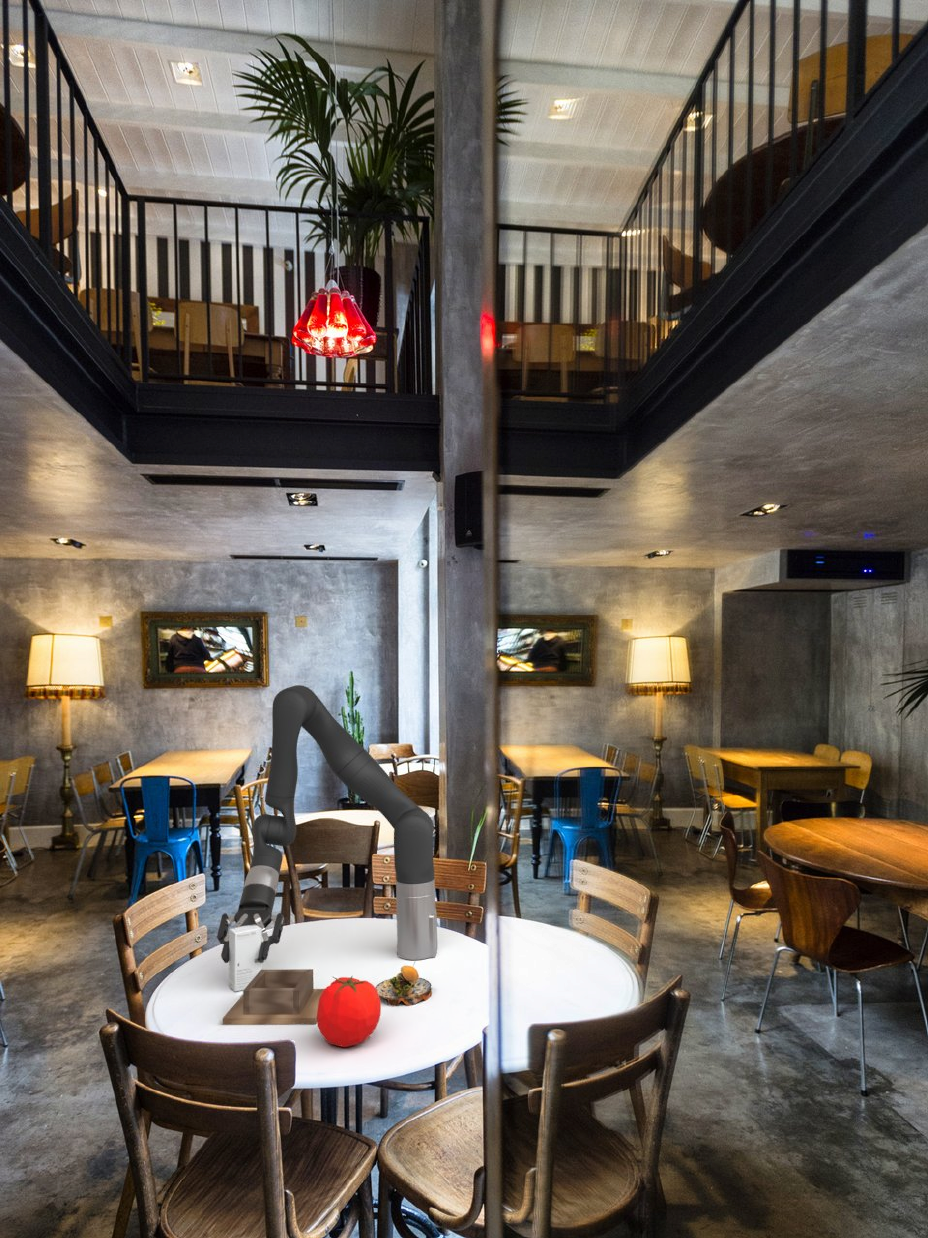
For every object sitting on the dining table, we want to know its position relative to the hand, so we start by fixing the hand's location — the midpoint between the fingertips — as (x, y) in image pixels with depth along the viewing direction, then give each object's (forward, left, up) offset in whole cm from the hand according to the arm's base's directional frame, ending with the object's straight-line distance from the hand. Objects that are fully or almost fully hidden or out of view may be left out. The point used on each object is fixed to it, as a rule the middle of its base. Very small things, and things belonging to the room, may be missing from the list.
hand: (243, 961), depth 167 cm
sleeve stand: (-11, +10, -6) cm, 16 cm away
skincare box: (0, -2, -6) cm, 6 cm away
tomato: (-28, +24, -6) cm, 38 cm away
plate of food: (-35, +3, -6) cm, 36 cm away
